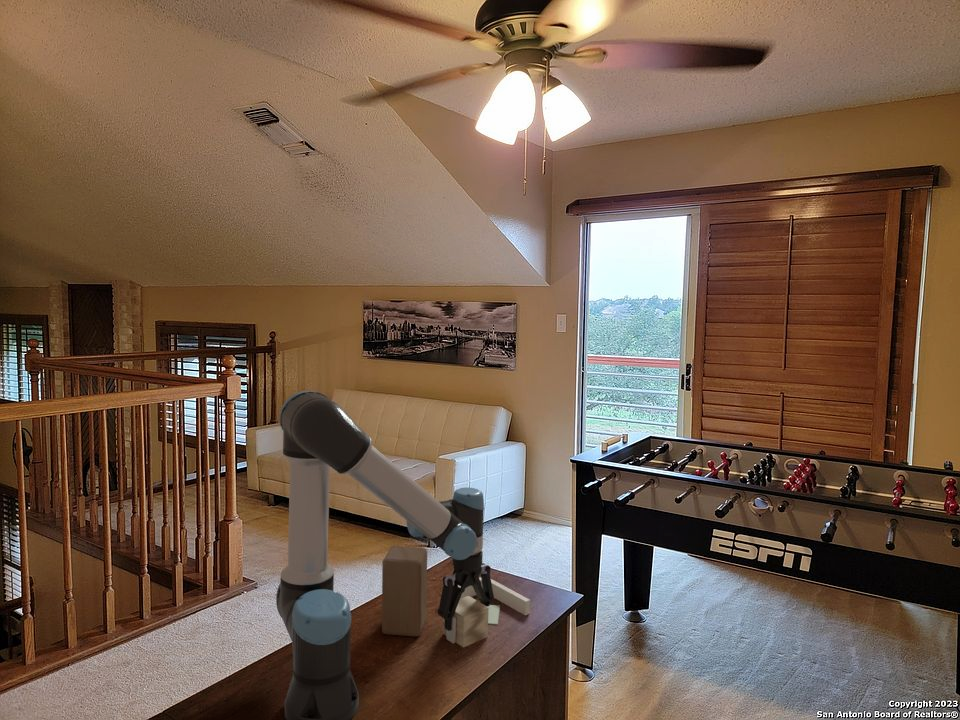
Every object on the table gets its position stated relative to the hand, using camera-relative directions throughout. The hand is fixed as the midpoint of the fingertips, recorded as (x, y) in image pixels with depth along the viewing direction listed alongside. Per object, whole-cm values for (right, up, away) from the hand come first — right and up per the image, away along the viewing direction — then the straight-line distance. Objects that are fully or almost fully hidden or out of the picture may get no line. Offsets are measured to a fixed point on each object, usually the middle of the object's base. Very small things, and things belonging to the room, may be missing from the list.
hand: (465, 634), depth 169 cm
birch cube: (0, 0, 0) cm, 0 cm away
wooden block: (-16, 0, +3) cm, 16 cm away
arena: (+4, +1, +13) cm, 14 cm away
